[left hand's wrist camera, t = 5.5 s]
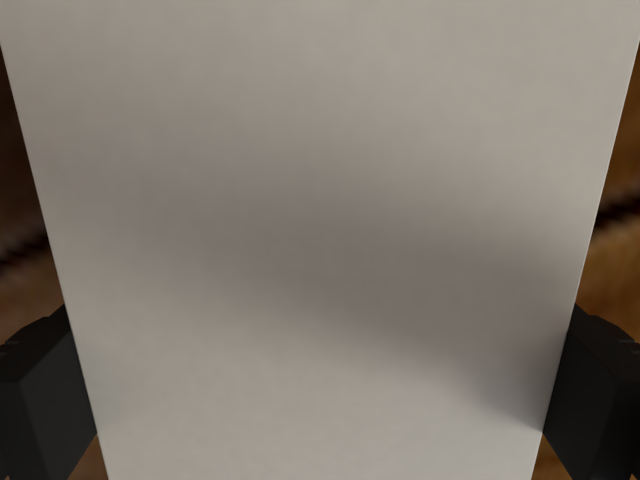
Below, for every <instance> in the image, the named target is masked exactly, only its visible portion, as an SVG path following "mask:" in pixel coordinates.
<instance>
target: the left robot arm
mask: <svg viewBox="0 0 640 480" xmlns="http://www.w3.org/2000/svg"><path fill="white" fill-rule="evenodd" d="M96 433H97V431H96V427H95V423H94V419H93V415H92V411H91V407H90V403H89V399H88V395H87V391H86V387H85V383H84V379H83V375H82V371H81V367H80V363H79V359H78V355H77V351H76V347H75V343H74V338H73V334H72V330H71V326H70V322H69V318H68V314H67V310H66V306H65V303H64V304H63V305H62V306H61V307H60V308H58V309H57V310H56V311H55V312H54V313H53V314H52V315H50V316H49V317H42V318H40V319H39V320H37V321H35V322H33V323H31V324H29V325H27V326H25V327H23V328H21V329H20V330H19V331H18V332H16V333H15V334H14V335H13V336H12V337H10V338H9V339H8V340H7V341H5V344H2V345H1V346H0V480H4V479H5V478H6V477H7V476H8V475H9V478H10V480H67V479H68V477H69V476H70V474H71V473H72V471H73V469H74V468H75V466H76V465H77V463H78V462H79V460H80V458H81V457H82V455H83V454H84V452H85V451H86V449H87V447H88V446H89V444H90V443H91V441H92V440H93V438H94V437H95V435H96ZM542 433H543V434H544V436H545V437H546V439H547V440H548V442H549V443H550V445H551V447H552V448H553V450H554V451H555V453H556V454H557V456H558V458H559V459H560V461H561V462H562V464H563V465H564V467H565V469H566V470H567V472H568V473H569V475H570V476H571V478H572V480H629V479H630V477H631V474H633V475H634V476H635V478H636V479H637V480H640V344H639V343H635V340H634V339H633V338H632V337H630V336H629V335H628V334H627V333H625V332H624V331H623V330H622V329H621V328H619V327H618V326H616V325H614V324H612V323H610V322H608V321H606V320H604V319H602V318H600V317H598V316H596V315H588V314H587V313H586V312H585V311H583V310H582V309H581V308H580V307H579V306H578V305H576V304H575V303H574V307H573V311H572V315H571V319H570V323H569V327H568V331H567V335H566V339H565V343H564V347H563V351H562V355H561V359H560V363H559V368H558V372H557V376H556V380H555V384H554V388H553V392H552V396H551V400H550V404H549V408H548V412H547V416H546V420H545V424H544V428H543V432H542Z"/></svg>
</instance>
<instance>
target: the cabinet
mask: <svg viewBox="0 0 640 480" xmlns="http://www.w3.org/2000/svg"><path fill="white" fill-rule="evenodd" d="M639 41H640V0H0V46H1V50H2V54H3V58H4V62H5V66H6V70H7V74H8V78H9V82H10V86H11V90H12V94H13V98H14V102H15V106H16V110H17V114H18V118H19V122H20V126H21V130H22V134H23V138H24V142H25V146H26V150H27V154H28V158H29V162H30V166H31V170H32V174H33V178H34V182H35V186H36V190H37V194H38V198H39V202H40V206H41V210H42V214H43V218H44V222H45V226H46V230H47V234H48V238H49V242H50V246H51V250H52V254H53V258H54V262H55V266H56V270H57V274H58V278H59V282H60V286H61V290H62V294H63V298H64V302H65V306H66V310H67V314H68V318H69V322H70V326H71V330H72V334H73V338H74V343H75V347H76V351H77V355H78V359H79V363H80V367H81V371H82V375H83V379H84V383H85V387H86V391H87V395H88V399H89V403H90V407H91V411H92V415H93V419H94V423H95V427H96V431H97V435H98V439H99V443H100V447H101V451H102V455H103V459H104V463H105V467H106V471H107V475H108V479H109V480H531V476H532V472H533V468H534V464H535V460H536V456H537V452H538V448H539V444H540V440H541V436H542V432H543V428H544V424H545V420H546V416H547V412H548V408H549V404H550V400H551V396H552V392H553V388H554V384H555V380H556V376H557V372H558V368H559V363H560V359H561V355H562V351H563V347H564V343H565V339H566V335H567V331H568V327H569V323H570V319H571V315H572V311H573V307H574V303H575V299H576V295H577V291H578V287H579V283H580V279H581V275H582V271H583V267H584V263H585V259H586V255H587V251H588V247H589V243H590V239H591V234H592V230H593V226H594V222H595V218H596V214H597V210H598V206H599V202H600V198H601V194H602V190H603V186H604V182H605V178H606V174H607V170H608V166H609V162H610V158H611V154H612V150H613V146H614V142H615V138H616V134H617V130H618V126H619V122H620V118H621V114H622V109H623V105H624V101H625V97H626V93H627V89H628V85H629V81H630V77H631V73H632V69H633V65H634V61H635V57H636V53H637V49H638V45H639Z"/></svg>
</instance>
